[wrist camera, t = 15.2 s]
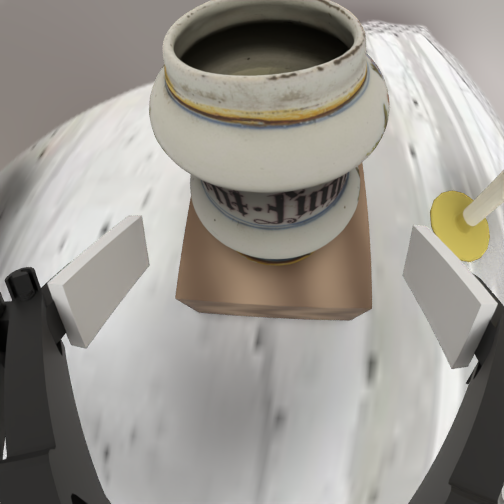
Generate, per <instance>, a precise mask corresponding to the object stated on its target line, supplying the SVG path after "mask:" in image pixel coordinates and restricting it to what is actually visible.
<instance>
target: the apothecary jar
mask: <svg viewBox="0 0 504 504" xmlns="http://www.w3.org/2000/svg"><path fill="white" fill-rule="evenodd" d="M365 51H366V35H365V31H364V29H363V27H362V25H361V23H360V22H359V21H358V19H357V18H356V17H355V16H354V15H353V14H352V13H351V12H350V11H348V10H347V9H345V8H344V7H342V6H340V5H338V4H336V3H334V2H332V1H330V0H212V1H209V2H207V3H204V4H202V5H200V6H198V7H196V8H194V9H193V10H191V11H189V12H188V13H186V14H185V15H183V16H182V17H181V18H180V19H179V20H177V21H176V22H175V23H174V24H173V25H172V26H171V28H170V29H169V31H168V32H167V34H166V36H165V39H164V42H163V59H164V66H163V67H162V69H161V70H160V72H159V74H158V76H157V78H156V80H155V83H154V85H153V88H152V91H151V95H150V103H149V115H150V121H151V126H152V129H153V132H154V135H155V137H156V139H157V141H158V143H159V144H160V146H161V147H162V149H163V150H164V151H165V153H166V154H167V155H168V156H169V157H170V158H171V159H172V160H173V161H174V162H175V163H176V164H177V165H178V166H180V167H181V168H182V169H184V170H185V171H186V172H188V173H190V174H191V178H190V189H191V198H192V202H193V206H194V209H195V211H196V213H197V215H198V217H199V219H200V221H201V222H202V224H203V225H204V226H205V228H206V229H207V230H208V231H209V232H210V233H211V234H212V235H213V236H214V237H215V238H216V239H218V240H219V241H220V242H222V243H223V244H224V245H226V246H228V247H230V248H231V249H233V250H235V251H236V252H238V253H239V254H240V255H242V256H243V257H245V258H247V259H249V260H250V261H252V262H255V263H260V264H264V265H274V266H279V265H288V264H292V263H296V262H298V261H301V260H303V259H305V258H307V257H308V256H310V255H311V254H312V253H314V252H315V251H316V250H318V249H320V248H321V247H323V246H325V245H326V244H328V243H329V242H330V241H332V240H333V239H334V238H335V237H336V236H338V235H339V234H340V233H341V231H342V230H343V229H344V228H345V227H346V225H347V224H348V223H349V221H350V219H351V218H352V216H353V214H354V212H355V210H356V207H357V204H358V200H359V195H360V174H359V168H358V165H360V164H361V163H362V162H363V161H364V160H365V159H366V158H367V157H368V156H369V155H370V154H371V153H372V152H373V150H374V149H375V148H376V146H377V145H378V143H379V142H380V140H381V138H382V136H383V134H384V132H385V129H386V126H387V122H388V116H389V95H388V90H387V86H386V83H385V80H384V78H383V76H382V74H381V72H380V70H379V68H378V67H377V65H376V64H375V62H374V61H373V60H372V59H371V57H370V56H369V55H368V54H367V53H366V52H365Z"/></svg>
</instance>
